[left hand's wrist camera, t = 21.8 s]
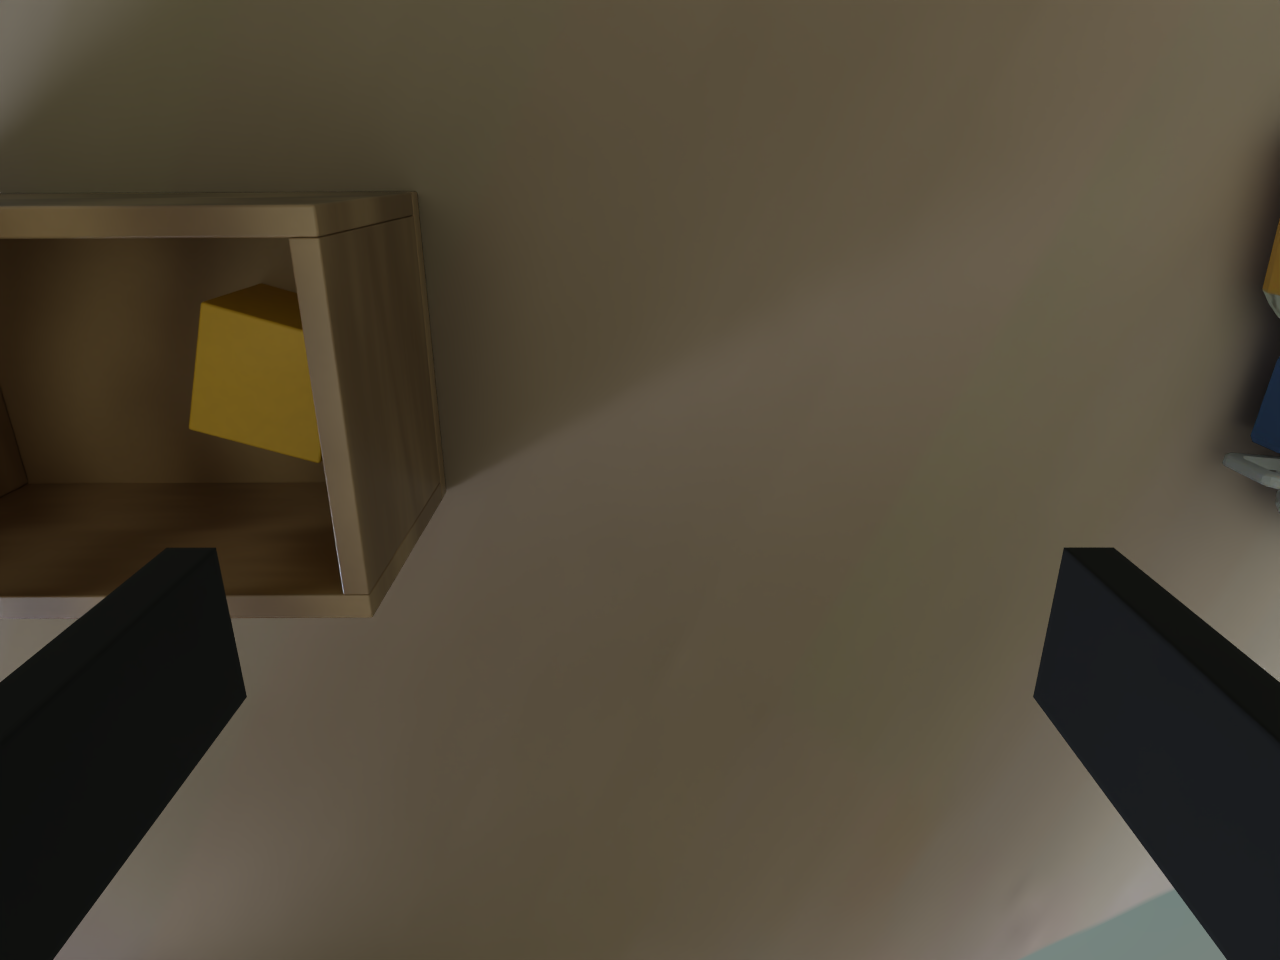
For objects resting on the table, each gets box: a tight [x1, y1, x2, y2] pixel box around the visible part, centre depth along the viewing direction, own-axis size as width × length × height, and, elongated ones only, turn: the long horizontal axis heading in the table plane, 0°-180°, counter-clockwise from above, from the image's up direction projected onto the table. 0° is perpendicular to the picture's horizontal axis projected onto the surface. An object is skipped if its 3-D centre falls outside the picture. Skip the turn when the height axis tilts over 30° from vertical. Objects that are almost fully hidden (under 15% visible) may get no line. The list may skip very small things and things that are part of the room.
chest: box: [0, 191, 446, 619], centre depth 26 cm, size 17×11×10 cm
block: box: [189, 283, 323, 463], centre depth 28 cm, size 4×4×4 cm
